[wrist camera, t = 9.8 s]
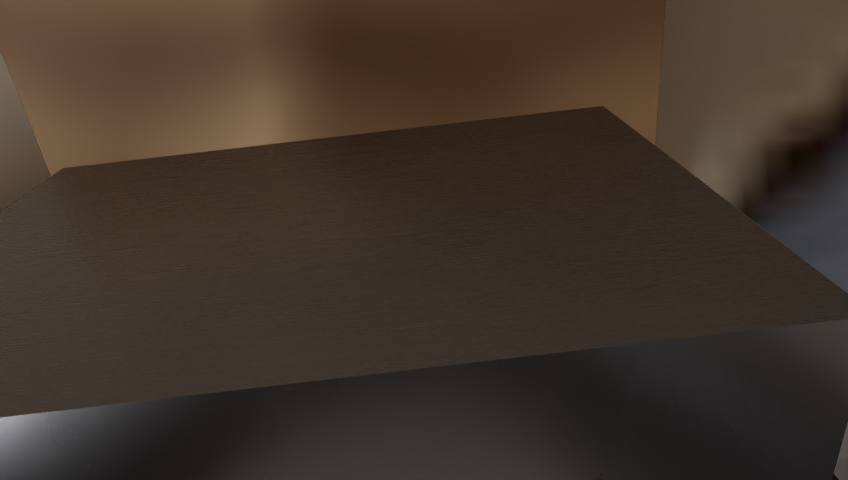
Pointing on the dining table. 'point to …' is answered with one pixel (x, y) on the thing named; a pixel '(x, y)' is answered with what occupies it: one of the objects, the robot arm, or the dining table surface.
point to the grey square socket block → (413, 316)
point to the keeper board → (314, 68)
